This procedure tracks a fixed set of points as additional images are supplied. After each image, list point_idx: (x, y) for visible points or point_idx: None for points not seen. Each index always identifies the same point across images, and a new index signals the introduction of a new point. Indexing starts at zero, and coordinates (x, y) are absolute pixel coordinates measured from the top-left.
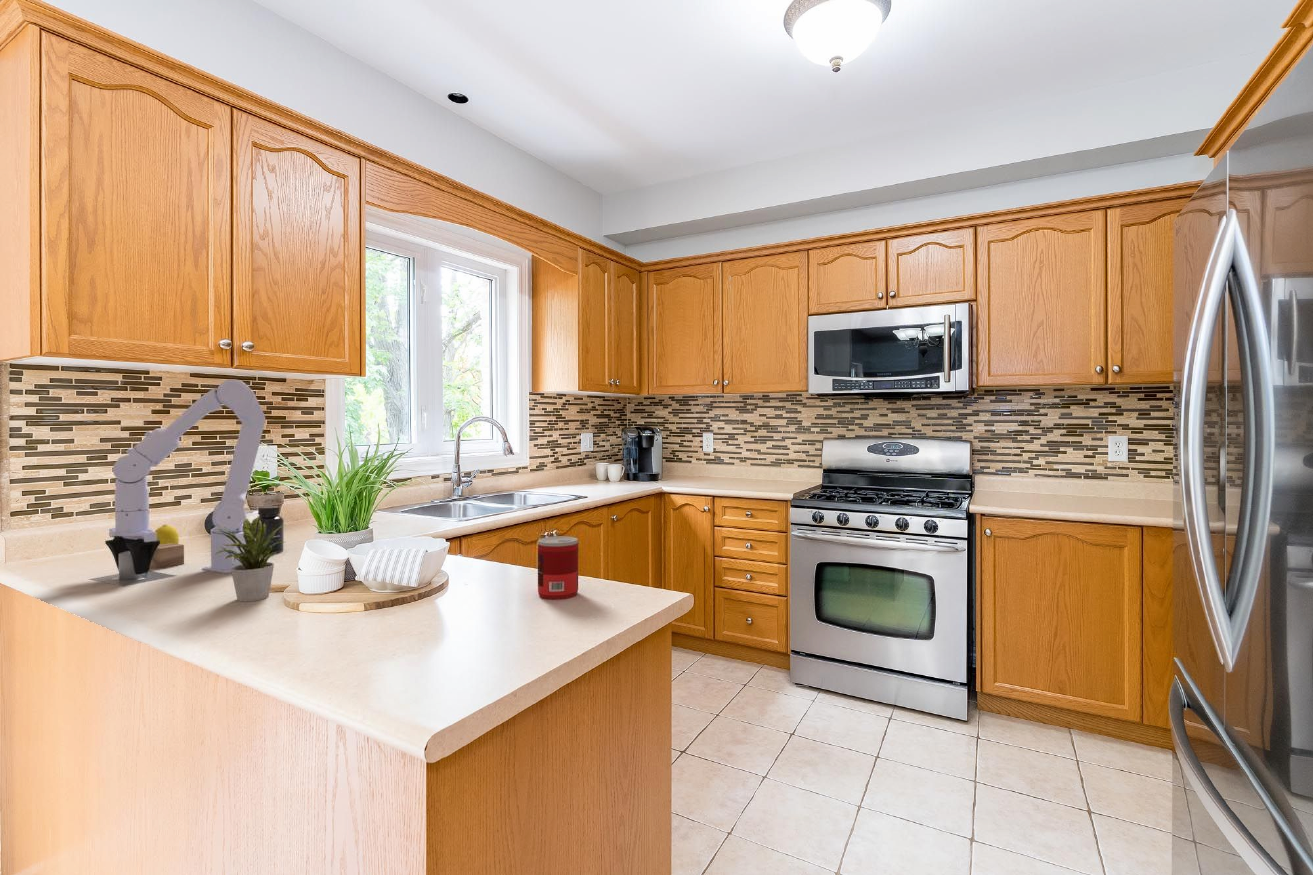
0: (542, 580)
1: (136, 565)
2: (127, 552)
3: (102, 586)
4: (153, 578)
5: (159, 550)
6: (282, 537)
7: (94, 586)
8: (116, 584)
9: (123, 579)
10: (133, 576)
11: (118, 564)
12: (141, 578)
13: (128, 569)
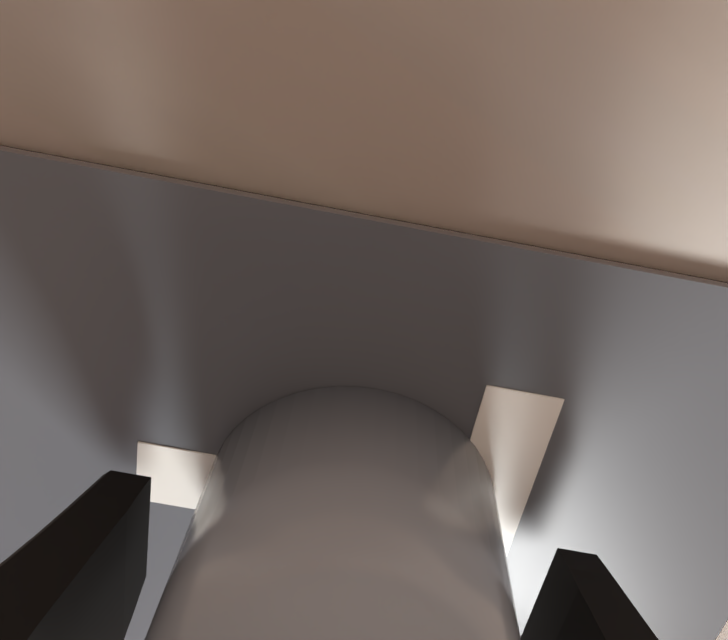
0: None
1: (17, 560)
2: None
3: (274, 82)
4: (50, 514)
5: None
6: None
7: (401, 48)
8: (127, 184)
9: (314, 390)
10: (217, 462)
11: (595, 627)
12: (182, 486)
13: (223, 504)
